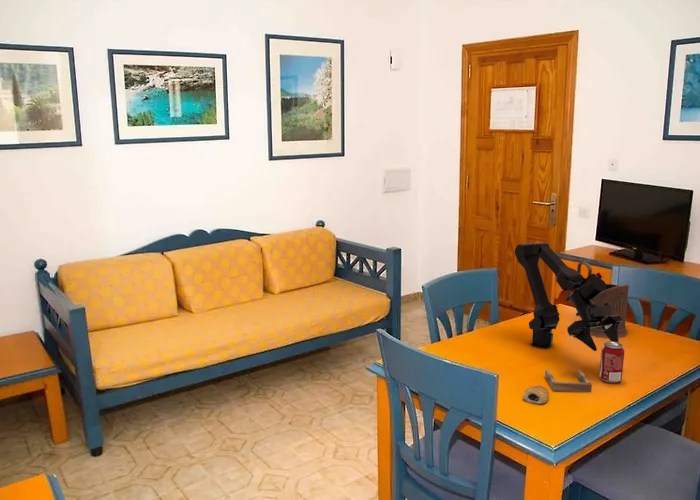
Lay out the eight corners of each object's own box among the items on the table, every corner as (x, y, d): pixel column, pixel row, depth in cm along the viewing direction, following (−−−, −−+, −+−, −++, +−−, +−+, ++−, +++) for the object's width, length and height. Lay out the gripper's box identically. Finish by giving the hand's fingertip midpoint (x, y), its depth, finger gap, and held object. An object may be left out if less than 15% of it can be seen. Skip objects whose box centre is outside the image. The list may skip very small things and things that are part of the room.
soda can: (623, 384, 193) (627, 349, 190) (600, 383, 194) (604, 347, 191) (618, 376, 199) (622, 341, 196) (597, 374, 200) (600, 339, 198)
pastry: (531, 389, 190) (532, 378, 189) (553, 395, 186) (554, 383, 185) (521, 401, 182) (522, 389, 181) (544, 407, 179) (545, 395, 178)
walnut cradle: (544, 376, 199) (545, 369, 198) (580, 377, 198) (581, 370, 197) (553, 391, 188) (553, 383, 188) (591, 392, 187) (591, 384, 187)
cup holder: (603, 341, 230) (609, 277, 224) (557, 322, 251) (561, 263, 246) (638, 334, 237) (645, 271, 232) (590, 316, 259) (595, 258, 253)
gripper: (575, 297, 194) (599, 341, 187) (620, 291, 201) (644, 333, 194) (557, 314, 203) (578, 356, 196) (600, 307, 210) (623, 348, 202)
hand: (607, 348), depth 197 cm, fingers open, 9 cm apart
